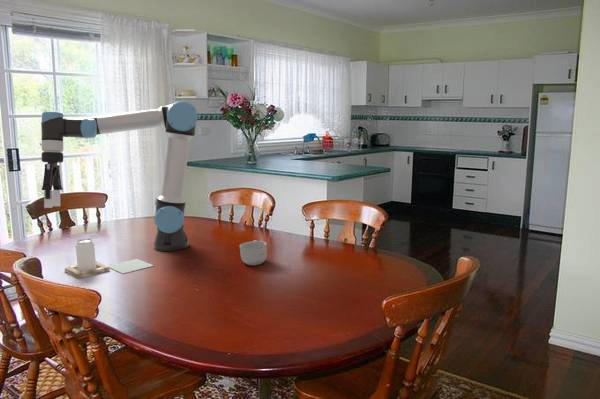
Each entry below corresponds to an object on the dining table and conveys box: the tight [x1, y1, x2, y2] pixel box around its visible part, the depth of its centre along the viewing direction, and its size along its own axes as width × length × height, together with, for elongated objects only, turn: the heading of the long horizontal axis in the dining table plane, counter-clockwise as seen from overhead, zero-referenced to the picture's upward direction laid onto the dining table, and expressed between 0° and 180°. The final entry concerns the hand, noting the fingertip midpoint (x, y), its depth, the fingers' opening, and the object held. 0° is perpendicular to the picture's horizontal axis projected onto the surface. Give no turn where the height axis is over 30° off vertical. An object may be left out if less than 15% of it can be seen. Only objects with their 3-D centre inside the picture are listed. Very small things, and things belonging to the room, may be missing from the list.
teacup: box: [239, 239, 268, 266], centre depth 200 cm, size 14×11×8 cm
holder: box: [64, 261, 110, 279], centre depth 191 cm, size 12×12×2 cm
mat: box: [107, 258, 154, 275], centre depth 196 cm, size 13×13×1 cm
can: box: [75, 238, 96, 272], centre depth 190 cm, size 6×6×12 cm
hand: (52, 207), depth 193 cm, fingers open, 13 cm apart
